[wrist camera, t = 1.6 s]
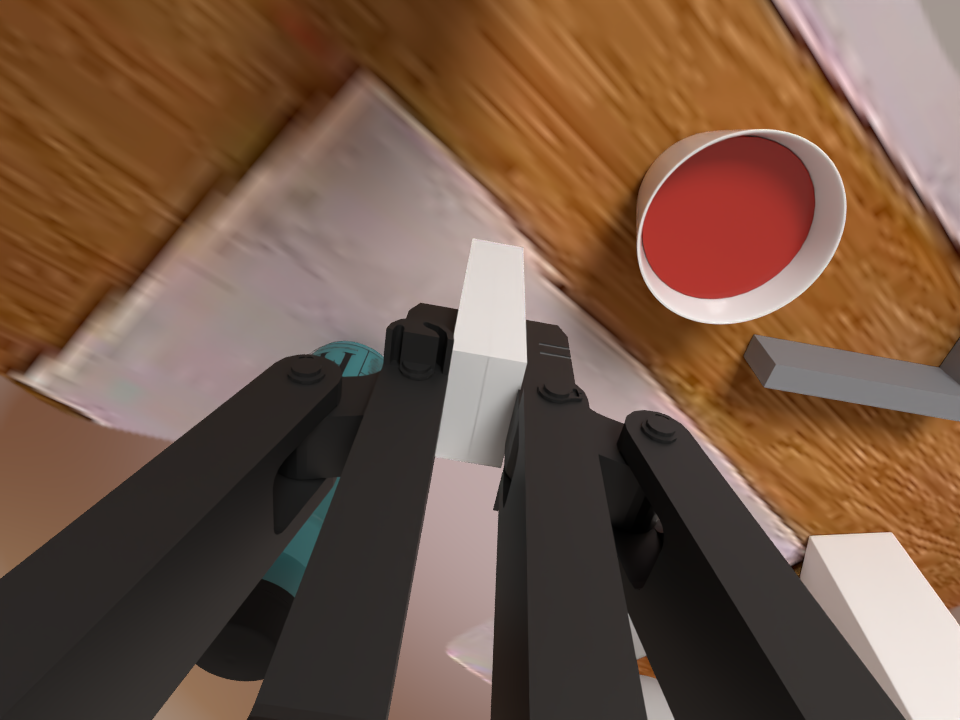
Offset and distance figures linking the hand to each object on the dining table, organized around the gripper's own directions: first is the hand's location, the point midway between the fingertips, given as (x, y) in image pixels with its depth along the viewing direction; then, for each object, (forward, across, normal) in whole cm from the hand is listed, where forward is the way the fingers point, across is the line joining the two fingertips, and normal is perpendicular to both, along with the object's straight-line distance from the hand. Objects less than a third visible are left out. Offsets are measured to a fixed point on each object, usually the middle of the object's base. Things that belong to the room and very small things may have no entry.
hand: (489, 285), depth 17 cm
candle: (+16, +11, 0) cm, 20 cm away
